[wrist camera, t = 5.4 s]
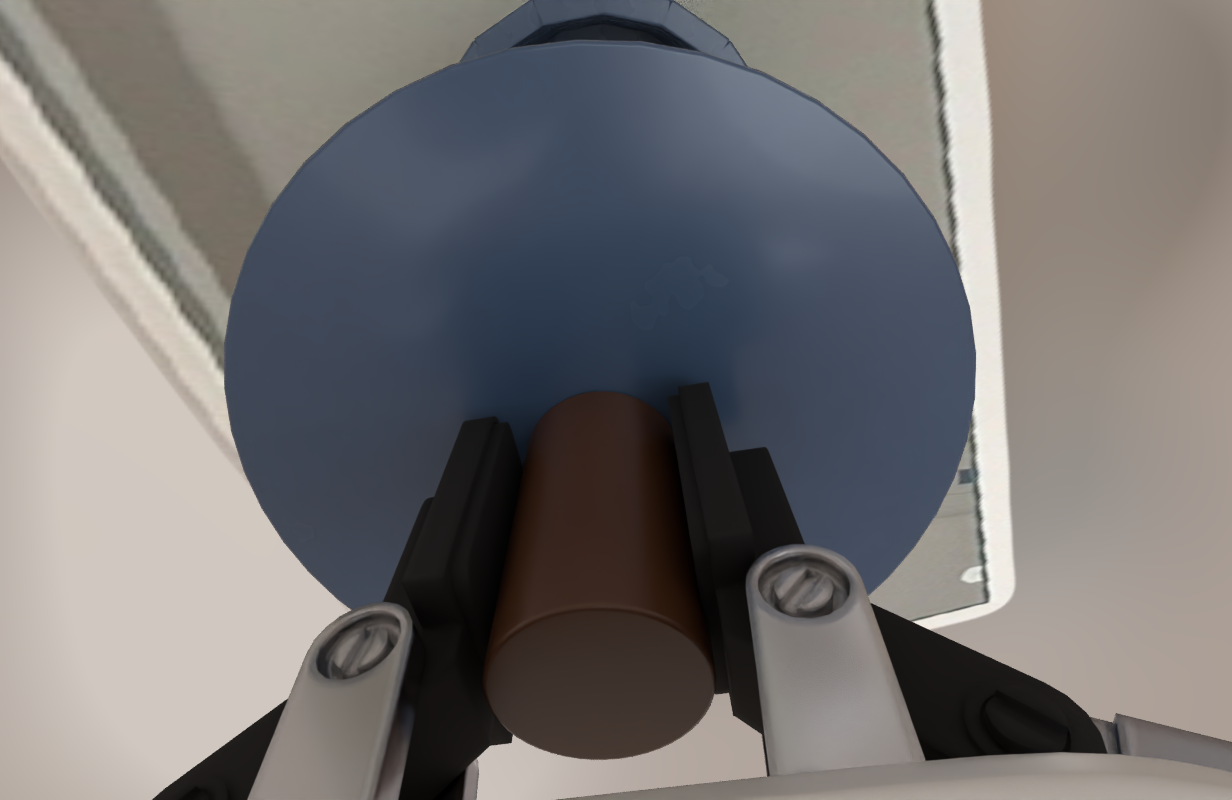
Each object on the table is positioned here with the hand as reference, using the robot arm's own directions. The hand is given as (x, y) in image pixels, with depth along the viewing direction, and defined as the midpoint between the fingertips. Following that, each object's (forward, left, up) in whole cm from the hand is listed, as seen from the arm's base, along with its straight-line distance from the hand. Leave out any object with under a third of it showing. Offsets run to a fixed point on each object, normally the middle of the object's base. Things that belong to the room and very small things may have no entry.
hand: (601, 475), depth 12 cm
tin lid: (0, 0, -1) cm, 1 cm away
